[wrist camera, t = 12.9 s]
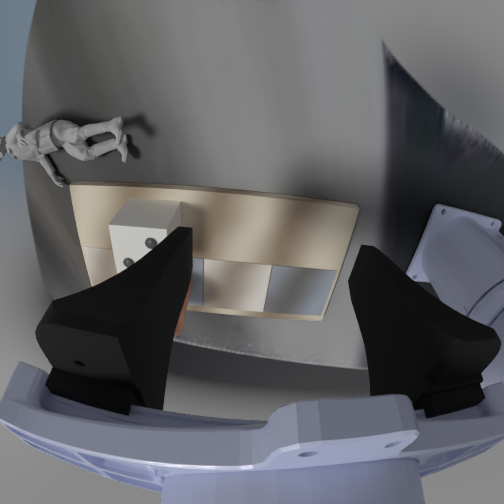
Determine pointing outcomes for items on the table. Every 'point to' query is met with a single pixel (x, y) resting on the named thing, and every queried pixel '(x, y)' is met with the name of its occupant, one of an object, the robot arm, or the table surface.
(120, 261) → the die
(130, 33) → the table surface
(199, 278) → the board
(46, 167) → the soldier figure
